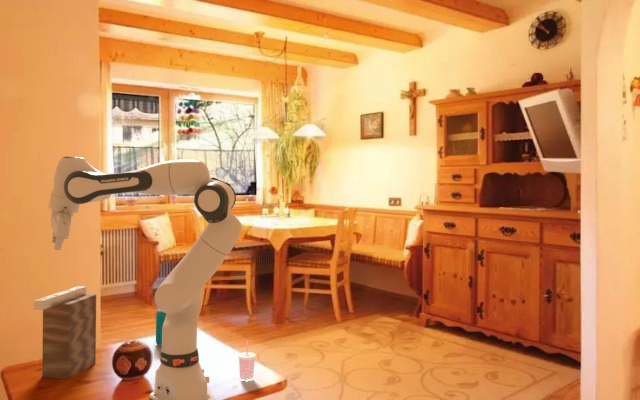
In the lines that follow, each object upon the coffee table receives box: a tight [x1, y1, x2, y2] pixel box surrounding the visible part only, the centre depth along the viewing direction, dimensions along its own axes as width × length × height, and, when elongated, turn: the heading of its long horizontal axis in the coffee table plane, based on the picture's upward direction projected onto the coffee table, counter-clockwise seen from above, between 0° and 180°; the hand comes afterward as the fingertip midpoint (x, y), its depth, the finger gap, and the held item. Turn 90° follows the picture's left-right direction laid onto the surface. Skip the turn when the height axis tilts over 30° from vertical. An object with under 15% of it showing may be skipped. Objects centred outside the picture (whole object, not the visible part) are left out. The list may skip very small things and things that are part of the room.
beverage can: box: [155, 308, 166, 347], centre depth 222 cm, size 6×6×15 cm
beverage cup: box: [237, 340, 257, 380], centre depth 186 cm, size 6×6×14 cm
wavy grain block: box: [41, 293, 97, 380], centre depth 190 cm, size 16×10×26 cm, turn 171°
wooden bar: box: [33, 285, 87, 311], centre depth 185 cm, size 24×3×3 cm, turn 171°
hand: (56, 246), depth 172 cm, fingers open, 8 cm apart
